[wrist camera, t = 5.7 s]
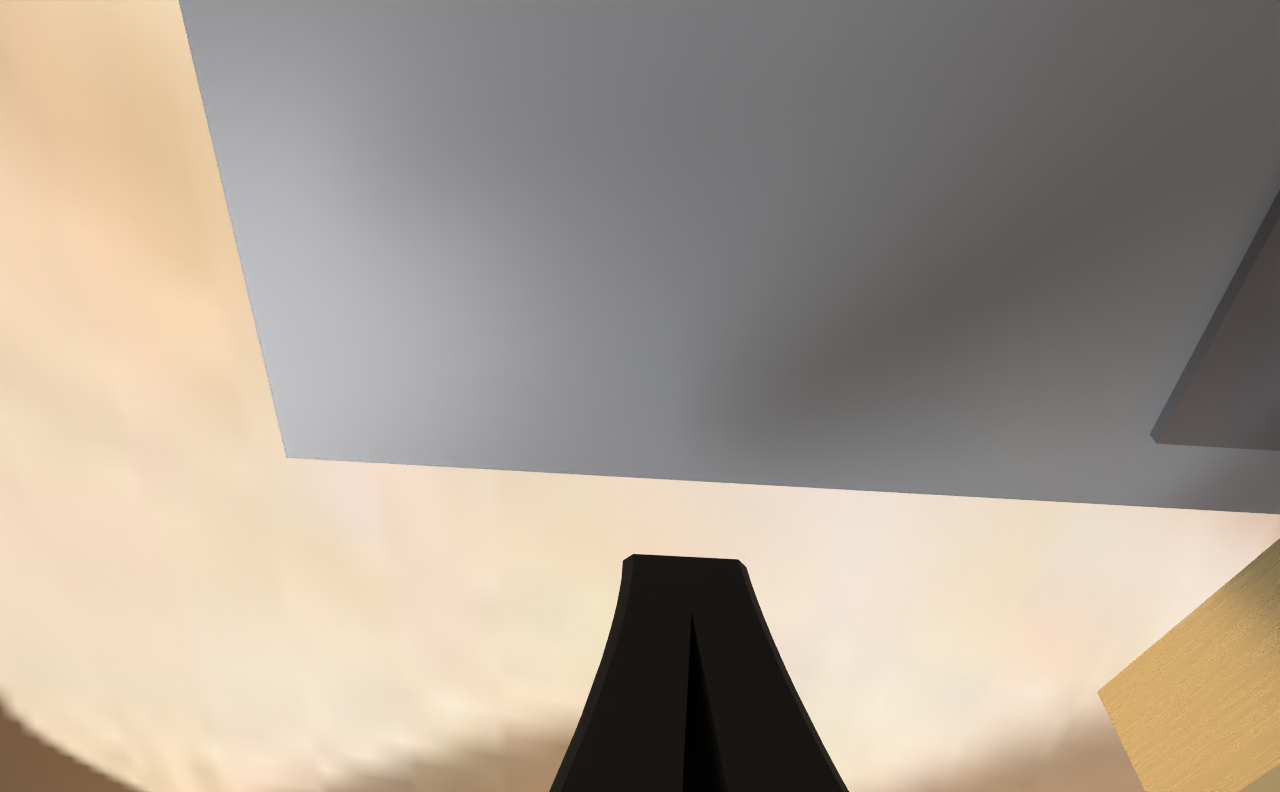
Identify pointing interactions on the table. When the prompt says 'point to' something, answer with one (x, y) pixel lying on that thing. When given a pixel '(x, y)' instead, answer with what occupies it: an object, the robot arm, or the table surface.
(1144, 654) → the key
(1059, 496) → the case
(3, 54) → the table surface
